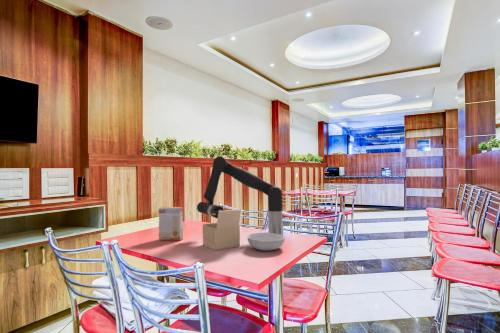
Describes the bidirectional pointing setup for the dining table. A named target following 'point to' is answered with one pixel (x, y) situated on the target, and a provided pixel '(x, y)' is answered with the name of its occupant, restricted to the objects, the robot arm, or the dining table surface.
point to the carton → (220, 237)
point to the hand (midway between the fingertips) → (229, 215)
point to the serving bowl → (266, 241)
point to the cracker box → (170, 223)
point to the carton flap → (228, 218)
